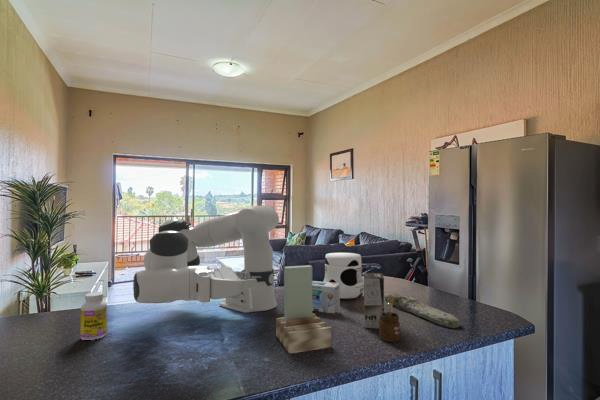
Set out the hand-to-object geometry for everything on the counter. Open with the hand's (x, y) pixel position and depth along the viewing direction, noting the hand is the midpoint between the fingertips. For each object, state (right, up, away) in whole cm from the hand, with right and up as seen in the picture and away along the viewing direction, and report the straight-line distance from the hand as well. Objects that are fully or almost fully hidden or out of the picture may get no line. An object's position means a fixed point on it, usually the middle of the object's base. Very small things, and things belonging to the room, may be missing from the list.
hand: (252, 278), depth 93 cm
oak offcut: (+15, -18, -2) cm, 23 cm away
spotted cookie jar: (+31, -20, +50) cm, 63 cm away
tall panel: (+13, -18, +5) cm, 22 cm away
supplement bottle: (-49, -19, +7) cm, 53 cm away
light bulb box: (+22, -20, +30) cm, 42 cm away
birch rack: (+14, -19, +1) cm, 24 cm away
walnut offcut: (+14, -18, +1) cm, 22 cm away
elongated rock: (+56, -20, +31) cm, 67 cm away
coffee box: (+38, -20, +19) cm, 46 cm away
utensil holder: (+40, -19, +7) cm, 45 cm away
